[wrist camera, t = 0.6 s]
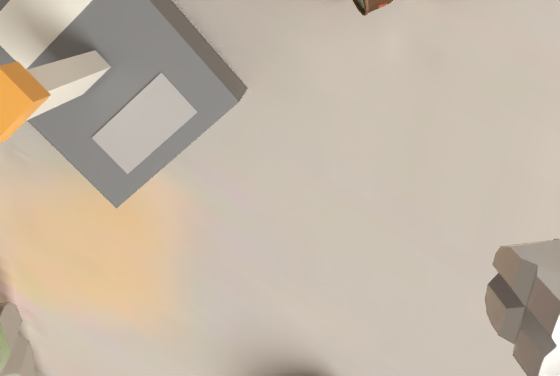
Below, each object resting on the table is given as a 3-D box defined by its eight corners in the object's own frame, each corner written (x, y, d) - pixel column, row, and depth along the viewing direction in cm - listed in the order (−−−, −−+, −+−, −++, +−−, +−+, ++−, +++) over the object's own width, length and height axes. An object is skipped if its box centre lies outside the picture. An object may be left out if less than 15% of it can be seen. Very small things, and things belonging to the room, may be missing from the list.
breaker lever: (118, 67, 40) (33, 102, 27) (83, 101, 41) (-14, 149, 28) (94, 42, 39) (-3, 66, 27) (59, 77, 40) (-50, 116, 28)
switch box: (247, 88, 46) (238, 102, 41) (138, 183, 50) (116, 208, 44) (97, -85, 42) (64, -97, 37) (-10, 33, 46) (-56, 40, 40)
